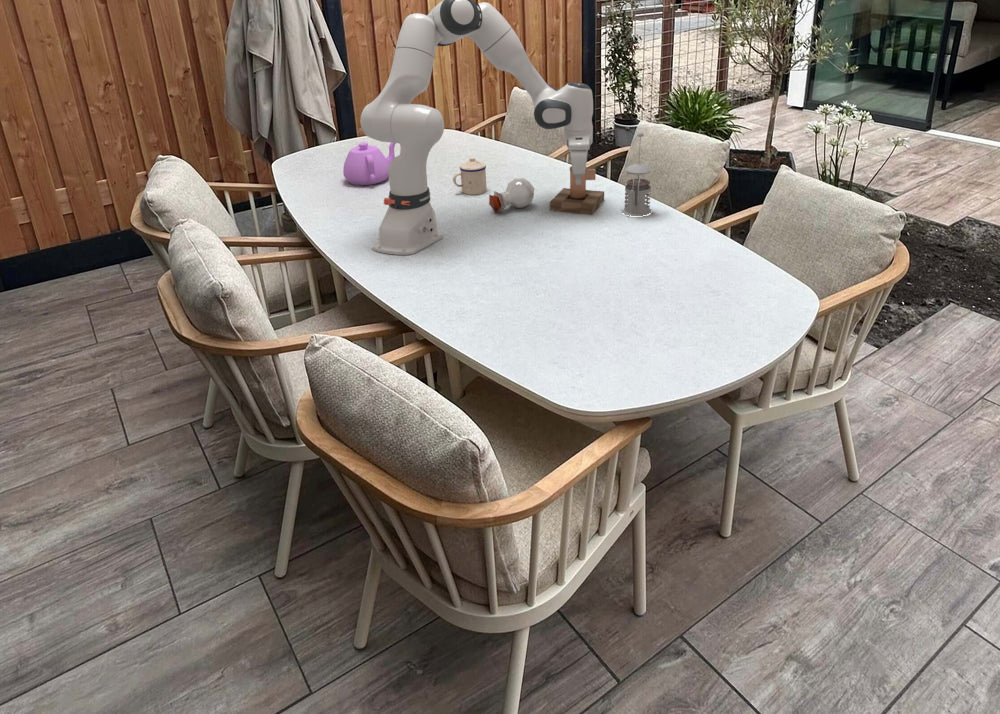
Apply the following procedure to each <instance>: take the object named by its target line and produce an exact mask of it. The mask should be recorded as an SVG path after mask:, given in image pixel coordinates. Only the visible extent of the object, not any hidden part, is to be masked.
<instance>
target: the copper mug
mask: <svg viewBox="0 0 1000 714" xmlns="http://www.w3.org/2000/svg"><path fill="white" fill-rule="evenodd" d="M596 172H597V171H596V168H587V166H586V170H585V174H584V175H582V178H581V184H580V185H576V184H575V175H573V171H572V165H571V166H570V167H569V189H570V196H571V197H573V198H582V197H585V196H586V190H587V186H586V185H587V181H596V178H597V177H596V174H597V173H596Z"/></svg>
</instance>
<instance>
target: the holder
mask: <svg viewBox="0 0 1000 714" xmlns="http://www.w3.org/2000/svg"><path fill="white" fill-rule="evenodd" d="M604 201H605V191H602V190H592V189H586V196H585V197H582V198H573V197H571V196H570V188H565V187H564V188H562V189H561V190H560V191H559V192H558V193H557V194H556V195H555V196H554V197H553V198H552V199H551V200H550V201H549V211H550V212H560V213H570V214H579V215H589V216H590V215H592V216H593V214H594V213H595V212H596V211H597V210H598V209H599V207H600V206H601V205H602V203H604ZM600 204H601V205H600Z"/></svg>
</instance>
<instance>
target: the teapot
mask: <svg viewBox="0 0 1000 714" xmlns="http://www.w3.org/2000/svg"><path fill="white" fill-rule="evenodd" d="M396 144H397V143H391V142H389V145H388V146H389V147H388V155H387V157H386V156H385V155H384V153H383V152H382V151H381V150H380V149H379V147H377V145H369V143H368V142H366V141H365V142H364V141H363V142H360V143H358V145H356V147H352V148H351V149H349V152H348V154H347V155H346V158H345V160H344V163H343V170H342V171H343V173H342V174H343V177H344V178H345V180H347V182H349V183H350V184H352V185H356V186H368V185H369V186H370V185H376V184H380V183H382V182H384V181H386V180H387V179H388V178H389V175H388V166H389V164H390V162H391V161H392V160H393V159H394V158H395V157H396V154H395V146H396Z"/></svg>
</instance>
